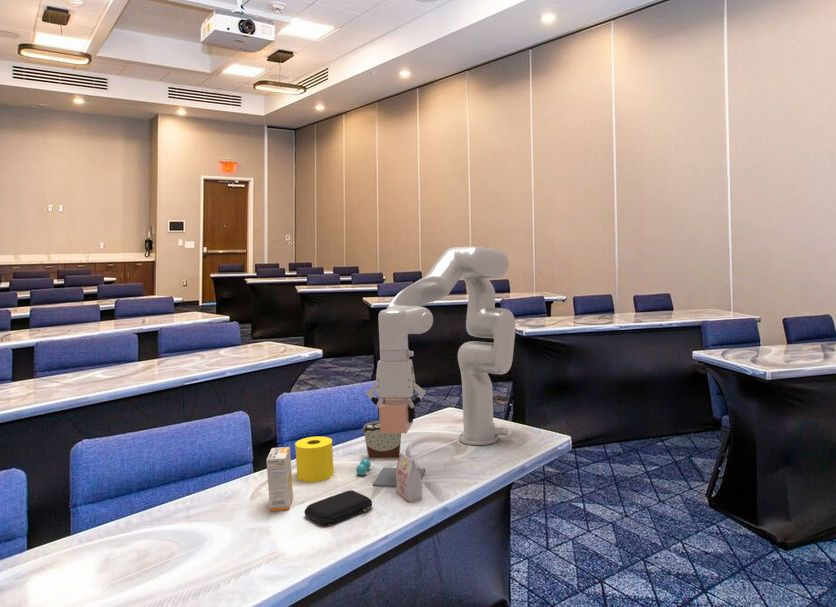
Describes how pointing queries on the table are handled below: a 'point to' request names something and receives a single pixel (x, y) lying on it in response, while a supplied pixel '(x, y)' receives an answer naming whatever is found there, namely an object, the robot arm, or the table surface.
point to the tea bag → (408, 479)
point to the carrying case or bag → (338, 507)
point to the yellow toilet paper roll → (314, 459)
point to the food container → (381, 442)
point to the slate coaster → (390, 477)
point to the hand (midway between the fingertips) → (396, 420)
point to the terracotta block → (394, 416)
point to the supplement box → (279, 478)
